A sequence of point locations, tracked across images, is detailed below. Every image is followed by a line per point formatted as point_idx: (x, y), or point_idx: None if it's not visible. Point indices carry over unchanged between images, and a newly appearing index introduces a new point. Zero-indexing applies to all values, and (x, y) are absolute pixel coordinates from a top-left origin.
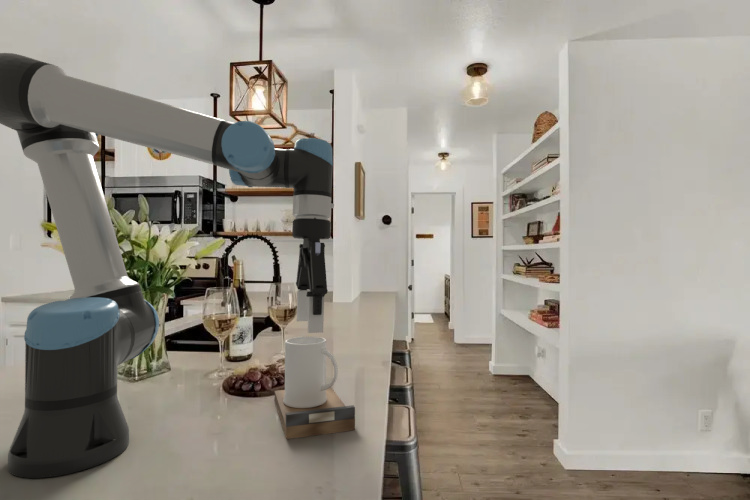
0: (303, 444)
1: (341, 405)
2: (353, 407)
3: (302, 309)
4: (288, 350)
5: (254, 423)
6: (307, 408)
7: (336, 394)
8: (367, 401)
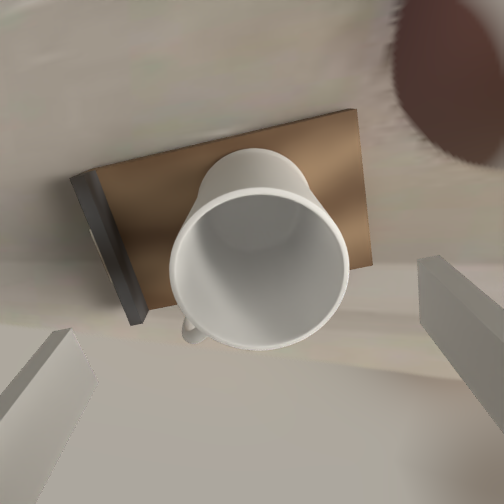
0: (71, 206)
1: None
2: (129, 322)
3: (455, 325)
4: (203, 199)
5: (181, 76)
6: None
7: None
8: None
